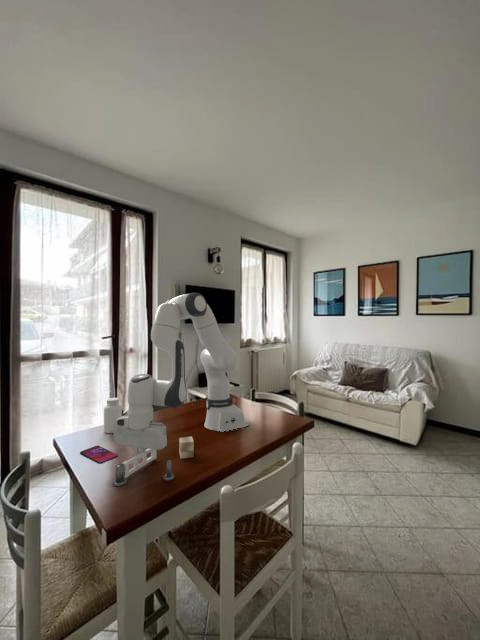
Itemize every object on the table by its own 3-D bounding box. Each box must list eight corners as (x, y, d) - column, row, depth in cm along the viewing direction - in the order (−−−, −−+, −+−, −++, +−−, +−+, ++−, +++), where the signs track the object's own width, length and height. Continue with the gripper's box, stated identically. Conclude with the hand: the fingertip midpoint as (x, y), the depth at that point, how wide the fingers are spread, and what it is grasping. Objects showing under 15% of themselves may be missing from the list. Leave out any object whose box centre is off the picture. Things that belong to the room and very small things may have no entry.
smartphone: (99, 463, 103) (78, 452, 111) (99, 465, 103) (78, 454, 111) (119, 454, 110) (97, 444, 118) (119, 457, 110) (97, 447, 118)
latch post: (174, 474, 97) (174, 458, 97) (174, 479, 93) (174, 463, 93) (163, 475, 96) (163, 459, 96) (163, 481, 92) (163, 464, 92)
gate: (125, 478, 93) (125, 463, 93) (121, 477, 93) (122, 462, 93) (156, 458, 106) (156, 445, 107) (153, 457, 107) (153, 444, 107)
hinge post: (127, 477, 94) (127, 461, 94) (126, 485, 90) (126, 468, 90) (113, 480, 93) (113, 463, 93) (111, 487, 89) (111, 470, 89)
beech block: (191, 451, 114) (191, 436, 114) (193, 457, 109) (193, 441, 109) (179, 453, 112) (179, 437, 112) (180, 458, 108) (180, 443, 108)
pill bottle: (107, 427, 139) (107, 397, 139) (124, 427, 139) (124, 396, 139) (100, 433, 131) (101, 401, 131) (118, 433, 131) (119, 401, 131)
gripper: (170, 419, 103) (170, 457, 103) (122, 414, 108) (122, 450, 108) (161, 426, 97) (160, 466, 97) (111, 420, 102) (110, 458, 102)
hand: (140, 458), depth 102 cm, fingers closed
